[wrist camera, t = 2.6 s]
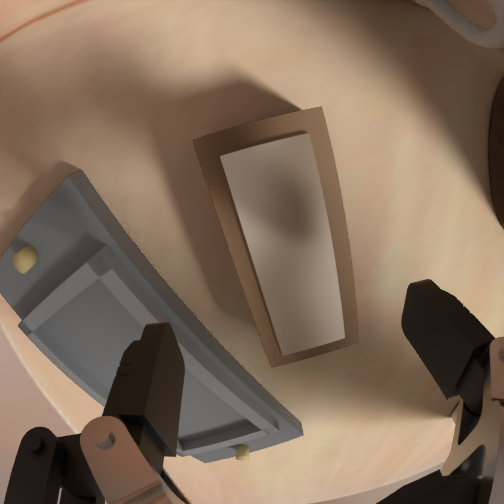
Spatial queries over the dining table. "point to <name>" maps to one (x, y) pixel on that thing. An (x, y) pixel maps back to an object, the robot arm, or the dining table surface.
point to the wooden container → (497, 152)
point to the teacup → (470, 23)
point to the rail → (128, 323)
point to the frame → (285, 231)
